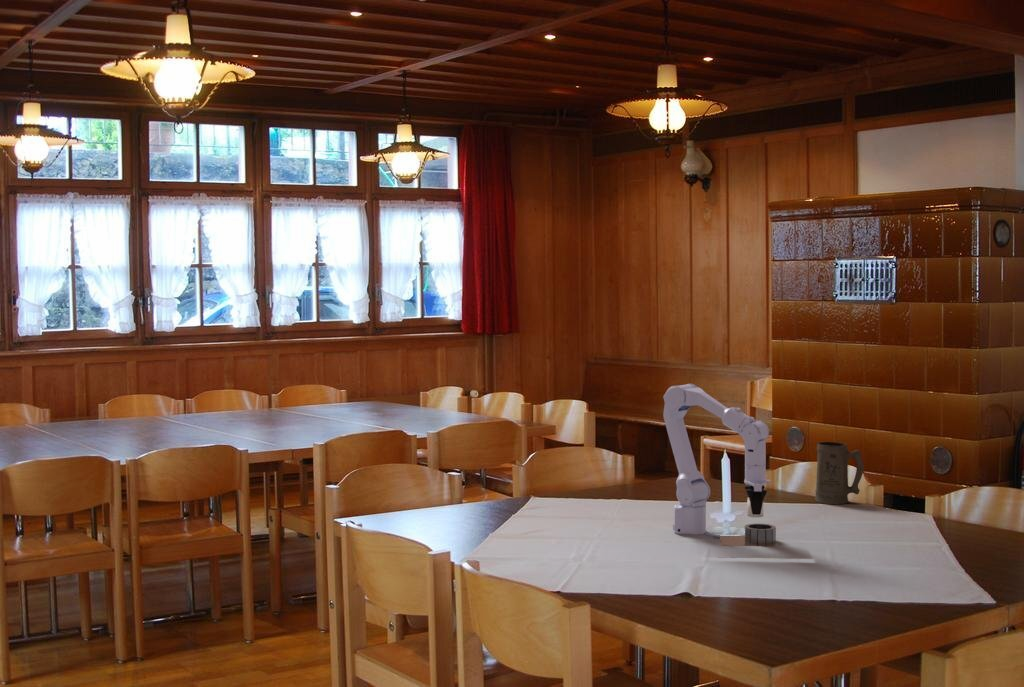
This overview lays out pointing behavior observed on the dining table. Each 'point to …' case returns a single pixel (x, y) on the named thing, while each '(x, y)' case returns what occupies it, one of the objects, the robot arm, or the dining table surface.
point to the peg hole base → (753, 536)
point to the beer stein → (835, 473)
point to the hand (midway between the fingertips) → (755, 512)
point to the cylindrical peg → (749, 511)
